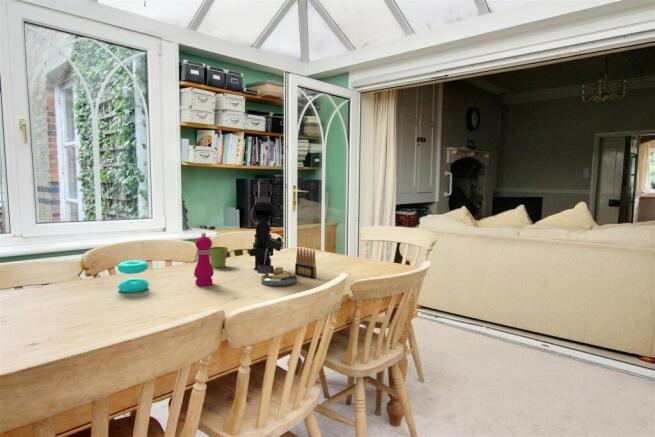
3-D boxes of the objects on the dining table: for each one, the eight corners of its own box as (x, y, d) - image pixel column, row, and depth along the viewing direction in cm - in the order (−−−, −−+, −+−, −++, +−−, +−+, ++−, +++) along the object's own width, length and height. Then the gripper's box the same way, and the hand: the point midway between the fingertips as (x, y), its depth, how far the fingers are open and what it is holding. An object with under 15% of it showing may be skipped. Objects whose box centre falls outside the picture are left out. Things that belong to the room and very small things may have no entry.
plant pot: (203, 267, 186) (203, 249, 185) (214, 263, 194) (214, 245, 194) (221, 269, 183) (221, 250, 182) (232, 265, 192) (232, 247, 191)
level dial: (251, 275, 164) (251, 266, 163) (265, 271, 172) (265, 262, 171) (281, 280, 156) (281, 270, 156) (294, 276, 164) (295, 266, 164)
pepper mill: (208, 287, 153) (207, 234, 151) (190, 285, 155) (189, 233, 153) (217, 282, 160) (216, 232, 158) (200, 281, 162) (199, 231, 160)
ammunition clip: (316, 278, 171) (317, 250, 170) (313, 279, 169) (314, 250, 168) (297, 274, 177) (298, 246, 176) (294, 274, 176) (295, 247, 175)
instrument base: (257, 286, 156) (257, 278, 156) (265, 277, 170) (265, 270, 170) (293, 287, 155) (294, 279, 155) (298, 278, 169) (299, 271, 169)
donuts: (139, 258, 154) (153, 262, 148) (139, 284, 155) (154, 289, 149) (112, 262, 146) (126, 266, 140) (112, 289, 147) (126, 295, 141)
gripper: (277, 236, 158) (276, 276, 160) (286, 229, 176) (285, 264, 178) (249, 235, 159) (248, 274, 161) (260, 228, 177) (259, 263, 179)
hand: (261, 268), depth 170 cm, fingers closed
